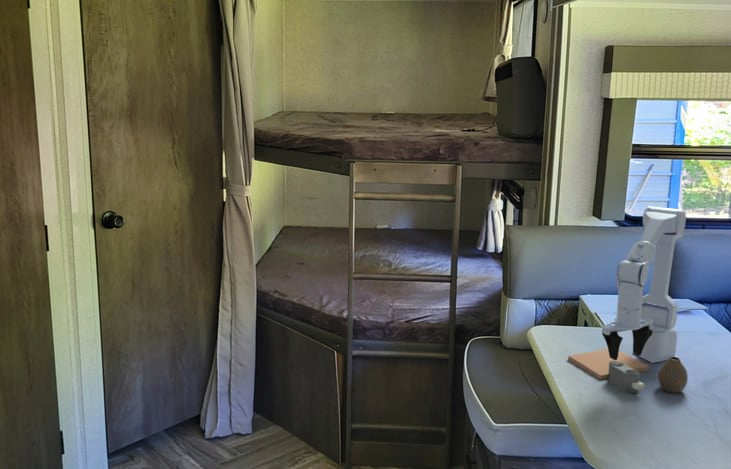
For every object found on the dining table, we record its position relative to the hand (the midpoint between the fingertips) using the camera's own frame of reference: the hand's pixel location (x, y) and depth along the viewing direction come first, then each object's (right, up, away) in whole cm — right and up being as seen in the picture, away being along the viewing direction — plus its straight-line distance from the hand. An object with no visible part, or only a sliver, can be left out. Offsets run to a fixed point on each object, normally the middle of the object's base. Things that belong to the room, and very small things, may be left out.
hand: (625, 356), depth 171 cm
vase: (+12, -9, -1) cm, 15 cm away
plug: (0, -8, +2) cm, 8 cm away
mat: (+1, -5, +15) cm, 15 cm away
